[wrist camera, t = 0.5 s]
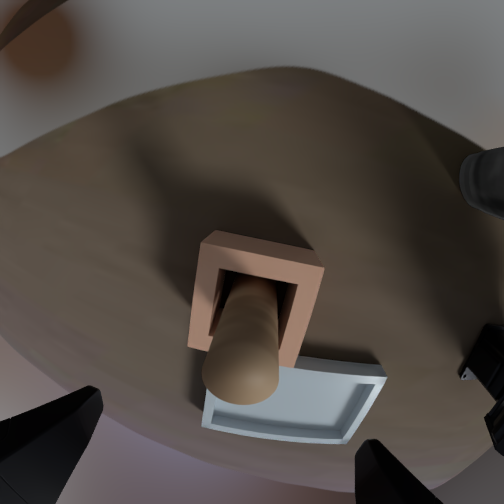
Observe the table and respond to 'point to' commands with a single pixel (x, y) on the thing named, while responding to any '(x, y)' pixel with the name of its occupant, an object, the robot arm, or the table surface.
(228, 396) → the dowel
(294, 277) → the holder
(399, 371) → the table surface
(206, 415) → the tray
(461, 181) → the beverage cup
